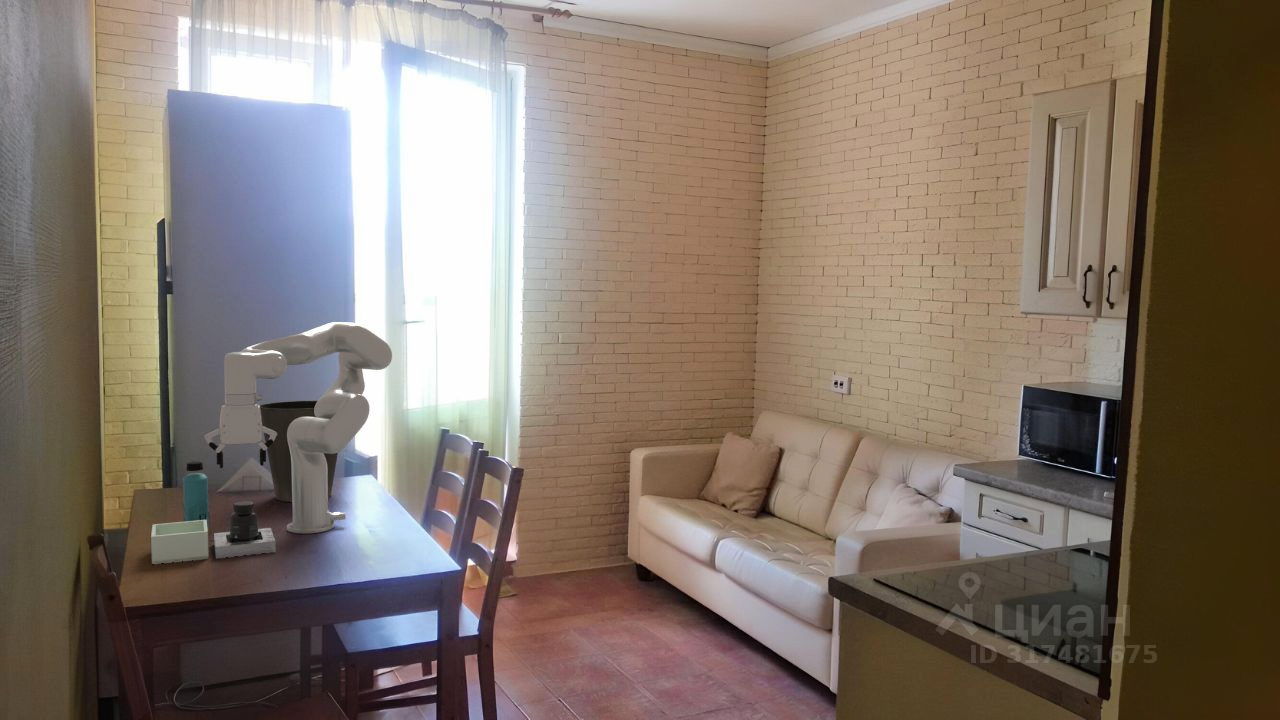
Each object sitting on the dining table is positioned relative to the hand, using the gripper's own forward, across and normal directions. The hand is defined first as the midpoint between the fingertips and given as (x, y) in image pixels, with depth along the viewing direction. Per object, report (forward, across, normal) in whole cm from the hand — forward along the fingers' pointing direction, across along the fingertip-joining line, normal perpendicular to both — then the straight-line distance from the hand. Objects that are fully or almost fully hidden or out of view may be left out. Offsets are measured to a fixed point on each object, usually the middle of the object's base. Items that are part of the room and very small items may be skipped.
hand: (241, 466), depth 245 cm
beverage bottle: (+22, +11, -20) cm, 32 cm away
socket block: (+22, 0, 0) cm, 22 cm away
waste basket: (+22, -21, -55) cm, 63 cm away
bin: (+22, +15, 0) cm, 26 cm away
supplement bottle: (+22, 0, 0) cm, 22 cm away
